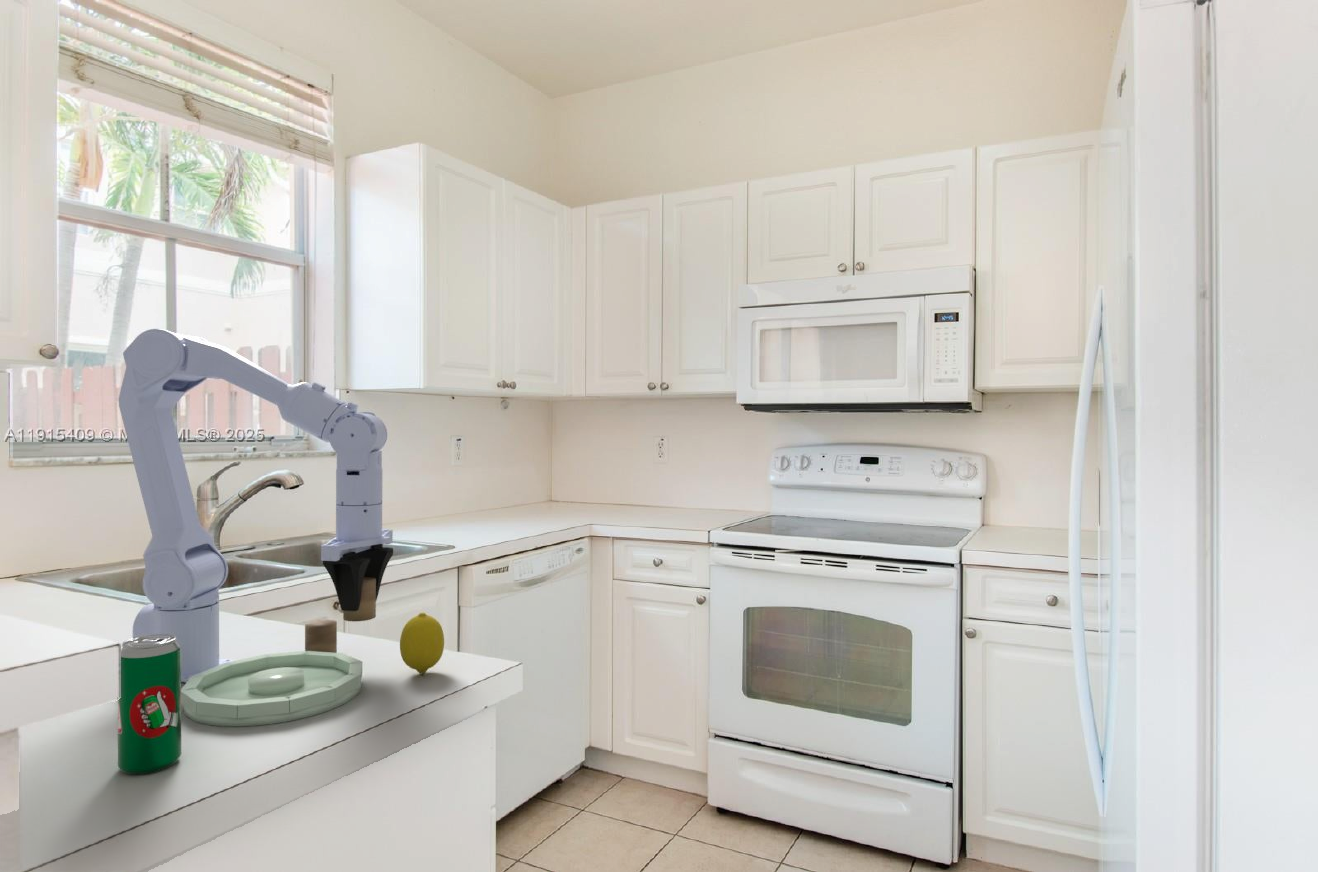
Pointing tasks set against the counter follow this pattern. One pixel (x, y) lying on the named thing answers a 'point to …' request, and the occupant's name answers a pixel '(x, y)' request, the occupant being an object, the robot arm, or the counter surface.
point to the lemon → (422, 642)
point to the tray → (271, 688)
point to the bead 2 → (364, 602)
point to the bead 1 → (321, 636)
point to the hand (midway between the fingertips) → (359, 606)
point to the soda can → (149, 704)
